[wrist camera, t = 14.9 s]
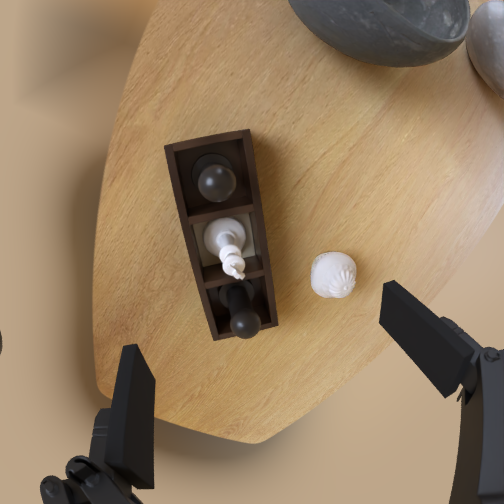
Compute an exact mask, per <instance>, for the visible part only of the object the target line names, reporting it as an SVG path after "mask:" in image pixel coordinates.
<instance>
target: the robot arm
mask: <svg viewBox="0 0 504 504" xmlns="http://www.w3.org/2000/svg"><path fill="white" fill-rule="evenodd" d="M379 324H380V325H381V326H382V327H383V328H384V329H385V330H386V331H387V332H388V333H389V335H390V336H391V337H392V338H393V339H394V340H395V341H396V342H397V343H398V344H399V346H400V347H401V348H402V349H403V350H404V351H405V352H406V354H407V355H408V356H409V357H410V358H411V359H412V360H413V362H414V363H415V364H416V365H417V366H418V367H419V368H420V370H421V371H422V372H423V373H424V374H425V375H426V376H427V378H428V379H429V380H430V381H431V382H432V384H433V385H434V386H435V387H436V388H437V390H439V392H440V393H441V394H442V395H443V397H444V398H446V397H448V396H450V395H451V394H453V393H454V392H455V391H456V390H457V388H458V386H459V384H460V383H461V384H462V386H463V388H462V390H461V392H460V394H459V396H458V398H457V402H458V401H459V399H460V398H461V396H462V400H461V424H460V437H459V447H458V455H457V463H456V470H455V475H454V481H453V486H452V491H451V496H450V501H449V504H504V349H503V350H499V351H498V350H496V349H495V348H492V347H485V348H483V347H481V346H480V345H479V344H478V343H477V342H476V341H475V340H474V339H473V338H471V337H470V336H469V335H468V334H467V333H466V332H464V330H463V329H461V328H460V327H458V325H457V324H456V323H455V322H453V321H452V320H450V319H448V318H446V317H441V318H439V317H438V316H436V315H435V314H434V313H433V312H432V311H431V310H430V309H428V308H427V307H426V306H425V305H424V304H423V303H421V302H420V301H419V300H418V299H417V298H415V297H414V296H413V295H412V294H411V293H409V292H408V291H407V290H406V289H405V288H403V287H402V286H401V285H400V284H398V283H397V282H396V281H395V280H393V281H390V282H387V283H384V284H383V293H382V302H381V311H380V318H379ZM155 383H156V380H155V378H154V376H153V375H152V373H151V371H150V369H149V367H148V365H147V363H146V361H145V359H144V357H143V355H142V353H141V351H140V349H139V347H138V345H137V344H132V345H126V346H123V349H122V354H121V358H120V363H119V368H118V373H117V378H116V383H115V388H114V394H113V399H112V405H111V408H106V409H100V411H99V412H98V414H97V416H96V418H95V423H94V429H93V433H92V435H93V437H92V440H91V446H90V453H89V458H88V457H85V456H75V457H73V458H72V459H71V460H70V461H69V462H68V463H67V466H66V475H67V478H68V479H66V480H61V479H59V478H58V477H56V476H53V475H52V476H47V477H45V478H44V479H43V480H42V482H41V485H40V492H41V496H42V500H43V503H44V504H143V503H142V502H141V501H140V500H139V499H138V498H137V497H136V495H135V494H134V493H132V485H133V486H134V487H135V488H137V489H154V404H155Z"/></svg>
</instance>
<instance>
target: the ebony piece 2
mask: <svg viewBox="0 0 504 504" xmlns="http://www.w3.org/2000/svg"><path fill="white" fill-rule="evenodd" d="M254 294H255V292H254V287H253V285H252V283H251V281H250V280H249V279H248V280H243V281H239V282H235V283H230V284H226V285H221V286H218V296H219V300H220V302H221V303H222V305H224V306H225V307H227V308H229V311H230V315H231V320H230V327H231V330H232V332H233V333H234V334H235V335H236V336H237V337H239V338H242V339H249V338H252V337H254V336H255V335H256V334H257V333H258V332H259V330H260V327H261V320H260V317H259V316H258V314H257V313H256V312H255V311H254V309H253V306H252V304H251V302H252V300H253V298H254Z"/></svg>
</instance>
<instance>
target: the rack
mask: <svg viewBox="0 0 504 504" xmlns="http://www.w3.org/2000/svg"><path fill="white" fill-rule="evenodd" d="M164 149H165V154H166V159H167V164H168V169H169V174H170V178H171V183H172V187H173V192H174V196H175V201H176V205H177V209H178V213H179V218H180V222H181V226H182V230H183V234H184V238H185V242H186V246H187V250H188V254H189V257H190V261H191V265H192V269H193V272H194V276H195V280H196V283H197V287H198V290H199V294H200V297H201V301H202V304H203V308H204V311H205V314H206V318H207V321H208V324H209V328H210V331H211V334H212V337H213V341H217V340H221V339H226V338H230V337H235V336H236V335H235V334H234V333H233V332H232V330H231V327H230V320H231V315H230V311H229V308H227V307H225V306H224V305H222V303H221V302H220V300H219V296H218V286H221V285H226V284H230V283H235V282H239V281H243V280H248V279H249V280H250V281H251V283H252V285H253V287H254V292H255V294H254V298H253V300H252V302H251V304H252V306H253V309H254V311H255V312H256V313H257V314H258V316H259V317H260V320H261V327H260V330H264V329H268V328H271V327H275V326H278V317H277V310H276V302H275V295H274V288H273V281H272V273H271V266H270V259H269V252H268V245H267V238H266V231H265V225H264V218H263V211H262V204H261V198H260V191H259V185H258V178H257V172H256V165H255V159H254V153H253V146H252V140H251V134H250V129H245V130H238V131H232V132H227V133H221V134H215V135H210V136H205V137H200V138H195V139H190V140H186V141H181V142H177V143H173V144H168V145H165V146H164ZM207 153H218V154H221V155H222V156H224V157H226V158H227V159H228V160H229V161H230V163H231V165H232V167H233V172H234V175H235V177H236V188H235V191H234V193H233V194H232V196H231V197H230V198H228V199H227V200H225V201H222V202H212V201H209V200H207V199H206V198H204V197H203V196H202V194H201V193H200V191H199V190H198V189H197V188H196V187H195V185H194V184H193V181H192V177H191V171H192V167H193V164H194V163H195V161H196V160H197V159H198V158H199V157H200V156H202V155H204V154H207ZM229 216H233V217H235V218H237V219H238V220H239V221H240V222H241V223H242V224H243V226H244V228H245V232H246V241H245V244H244V246H243V248H242V249H241V257H242V258H243V259H244V261H245V268H244V270H243V273H244V274H245V277H244V278H243V279H240V278H239V279H236V278H235V277H234V276H231V275H228V274H226V273H225V272H224V270H223V263H222V261H221V260H220V257H217V256H214V255H213V254H211V253H210V252H209V251H208V250H207V249H206V247H205V245H204V243H203V230H204V228H205V226H206V224H207V223H208V222H209V221H211V220H215V219H220V218H225V217H229ZM260 330H259V331H260Z"/></svg>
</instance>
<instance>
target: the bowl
mask: <svg viewBox="0 0 504 504" xmlns="http://www.w3.org/2000/svg"><path fill="white" fill-rule="evenodd" d="M288 1H289V3H290V5H291V7H292V8H293V10H294V12H295V13H296V15H297V16H298V17H299V18H300V20H301V21H302V22H303V23H304V24H305V25H306V26H307V27H308V28H309V30H311V31H312V32H313V33H314V34H315V35H316V36H317V37H319V38H320V39H321V40H323V41H324V42H326V43H327V44H329V45H330V46H332V47H333V48H335V49H336V50H338V51H340V52H342V53H344V54H346V55H348V56H350V57H352V58H355V59H357V60H360V61H363V62H366V63H370V64H375V65H380V66H388V67H415V66H422V65H427V64H430V63H433V62H436V61H438V60H440V59H443V58H444V57H446V56H448V55H449V54H451V53H452V52H453V51H454V50H456V48H457V47H458V46H459V45H460V44H461V43H462V42H463V40H464V38H465V36H466V35H467V31H468V28H469V23H470V6H469V1H468V0H288Z"/></svg>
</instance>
